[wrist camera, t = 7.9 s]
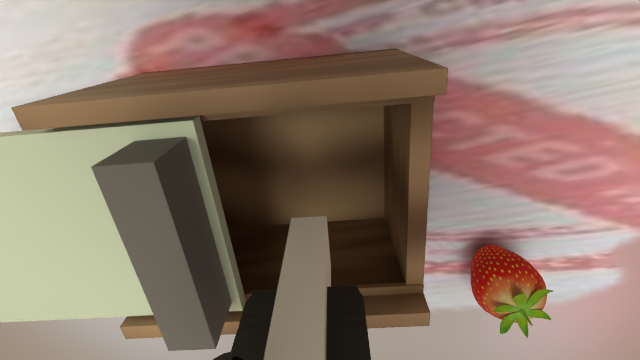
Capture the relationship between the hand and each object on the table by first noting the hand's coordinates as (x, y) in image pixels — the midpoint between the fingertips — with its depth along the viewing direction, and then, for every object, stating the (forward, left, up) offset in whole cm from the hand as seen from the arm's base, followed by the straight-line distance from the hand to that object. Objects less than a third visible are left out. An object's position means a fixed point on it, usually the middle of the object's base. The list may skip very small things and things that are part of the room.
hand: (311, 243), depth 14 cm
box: (0, -3, -13) cm, 13 cm away
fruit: (+11, +14, -13) cm, 22 cm away
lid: (0, -14, -3) cm, 14 cm away
